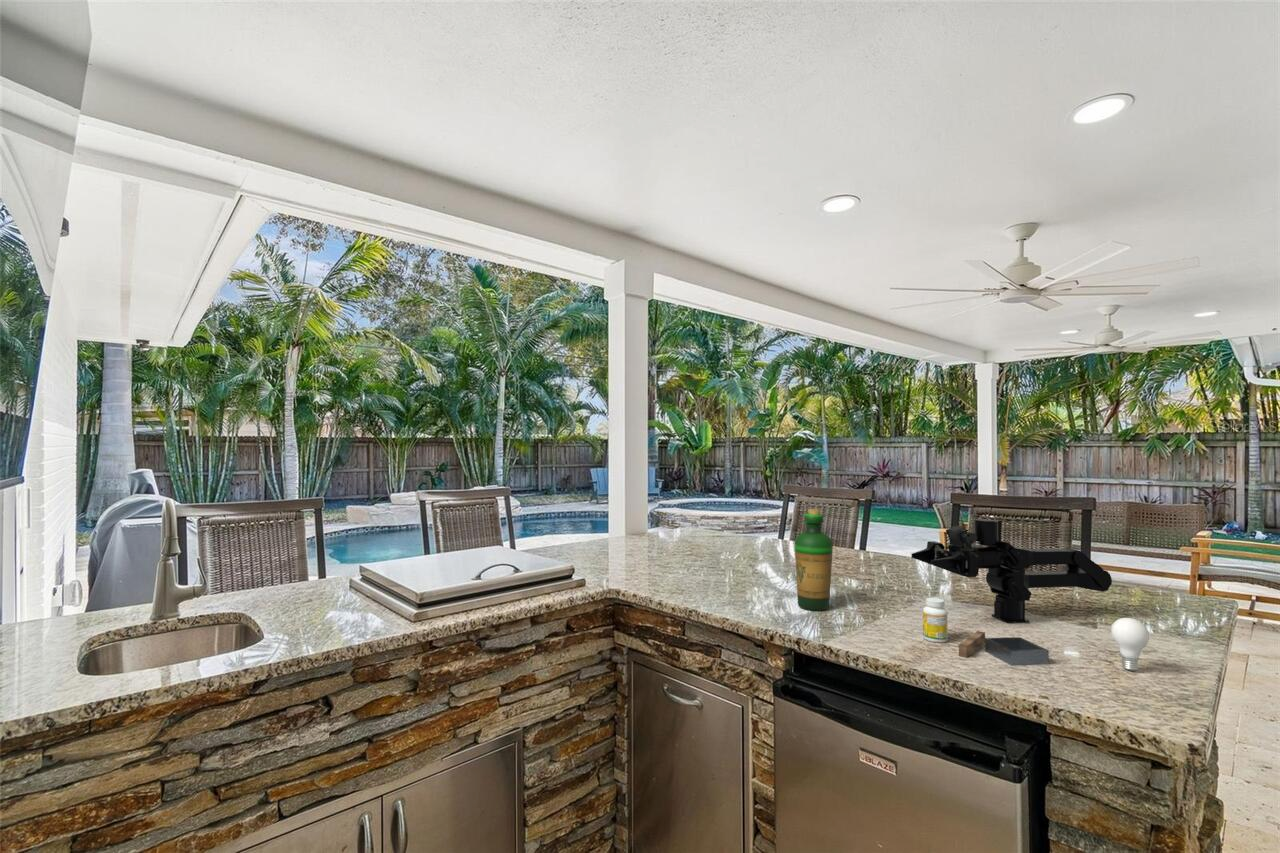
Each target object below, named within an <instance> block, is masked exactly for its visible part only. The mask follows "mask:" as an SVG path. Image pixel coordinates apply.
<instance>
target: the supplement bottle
mask: <svg viewBox="0 0 1280 853" xmlns="http://www.w3.org/2000/svg"><path fill="white" fill-rule="evenodd" d="M925 603H926V605H925V607H923V610H922V637H923V639H925V640H926V641H928V642H932V643H938V644H939V643H941V644H942V643H946V642H947V641H948V611H947V609H945V608H944V607H945V600H944V599H943V598H938V597H927V598H926V599H925Z"/></svg>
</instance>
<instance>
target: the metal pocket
mask: <svg viewBox="0 0 1280 853" xmlns="http://www.w3.org/2000/svg"><path fill="white" fill-rule="evenodd" d="M984 652H985V653H988V654H989V655H991V656H993V657H995V658H997V659H999V660H1000V661H1001V662H1002V661H1003V662H1004V663H1006V664H1008V665H1010V666H1034V665H1035V666H1037V665H1049V663H1050V662H1049V658H1050V656H1049V654H1050V652H1049V650H1048V649H1046V648H1044V647H1042V646H1040V645H1038V644H1036V643H1034V642H1031V641H1029V640H1027V639H1024V638H1023V637H1019V636H1017V637H1016V636H1015V637H985V643H984Z"/></svg>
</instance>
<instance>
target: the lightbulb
mask: <svg viewBox="0 0 1280 853" xmlns="http://www.w3.org/2000/svg"><path fill="white" fill-rule="evenodd" d="M1149 632H1150V631H1149V630H1148V628H1147V626H1146V625H1145V624H1143V622H1141V621H1139V620H1138V619H1136V618H1132V617H1120V618H1118V619H1116V620H1115V621H1114V622H1113V623H1112V624H1111V627H1110V633H1111V636H1112V637H1111V638H1112V639H1113V640H1114V641H1115V643H1116V645H1117V646H1118V649H1119V652H1120V655H1121V667H1122V668H1123V669H1125V671H1128V672H1135V671H1137V670H1139V658H1140V656H1141V653H1142V650H1143V649H1144V648H1145V647H1146V646H1147V644H1149V641H1150V633H1149Z"/></svg>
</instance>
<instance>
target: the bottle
mask: <svg viewBox="0 0 1280 853" xmlns="http://www.w3.org/2000/svg"><path fill="white" fill-rule="evenodd" d="M803 522H804V523H805V528H806V529H805V531H802V532H800V533H799V534H797V536H796V538H795V539H794V553H795V554H794V555H795V570H796V571H795V574H796V592H797V593H796V595H797V596H796V597H797V605H798V607H800V608H801V609H803V610H807V611H811V612H812V611H813V612H822V611H826V610H827V609H829V608H830V598H831V597H830V595H831V582H832V581H831V580H832V565H833V552H834V550H833V549H834V548H833V547H834V542H833V541H832V539H831V538H830V536H828V535H827V534H826V533H825V532H824V531H822V524H823V523H825V522H824V518H823V513H820V509H819V508H808V509H807V513H805V514H804V520H803Z"/></svg>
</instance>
